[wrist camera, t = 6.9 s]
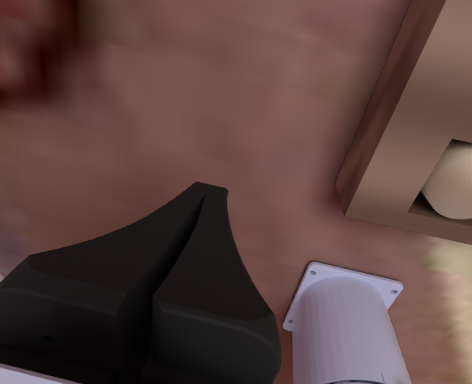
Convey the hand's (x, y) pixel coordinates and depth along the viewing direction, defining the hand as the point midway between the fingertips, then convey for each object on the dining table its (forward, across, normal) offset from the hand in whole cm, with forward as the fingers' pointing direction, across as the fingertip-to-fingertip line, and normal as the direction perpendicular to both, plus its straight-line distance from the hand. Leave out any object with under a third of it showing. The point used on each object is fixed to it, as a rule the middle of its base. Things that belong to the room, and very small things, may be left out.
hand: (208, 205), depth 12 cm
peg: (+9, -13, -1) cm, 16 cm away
